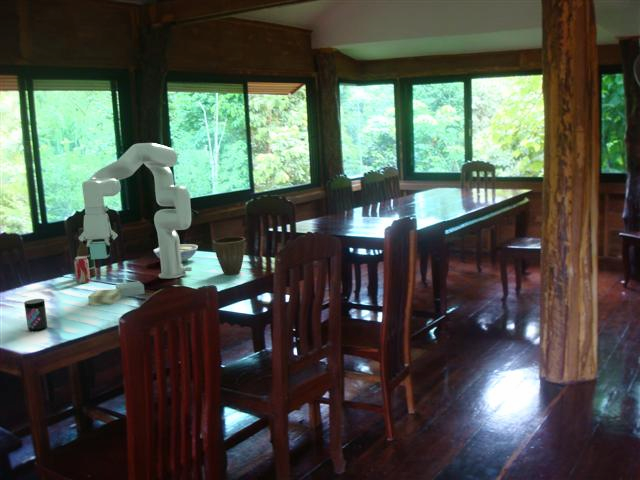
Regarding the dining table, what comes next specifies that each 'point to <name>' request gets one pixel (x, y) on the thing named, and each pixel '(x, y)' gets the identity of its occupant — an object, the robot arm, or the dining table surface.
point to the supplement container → (36, 315)
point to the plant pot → (230, 254)
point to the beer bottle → (83, 251)
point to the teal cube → (98, 250)
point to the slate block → (131, 288)
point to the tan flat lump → (104, 297)
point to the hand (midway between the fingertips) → (100, 254)
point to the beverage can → (82, 269)
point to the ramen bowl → (182, 251)
